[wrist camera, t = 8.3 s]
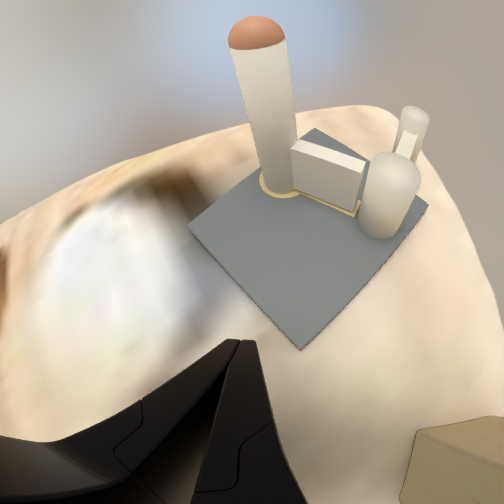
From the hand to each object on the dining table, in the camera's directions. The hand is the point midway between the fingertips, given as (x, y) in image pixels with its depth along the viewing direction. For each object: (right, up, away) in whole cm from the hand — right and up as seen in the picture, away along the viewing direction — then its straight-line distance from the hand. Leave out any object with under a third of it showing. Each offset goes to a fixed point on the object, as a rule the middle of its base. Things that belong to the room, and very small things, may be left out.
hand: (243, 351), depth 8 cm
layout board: (+5, +6, +15) cm, 17 cm away
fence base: (+12, +8, +14) cm, 21 cm away
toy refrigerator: (+15, -14, +4) cm, 21 cm away
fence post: (+5, +8, +15) cm, 18 cm away
